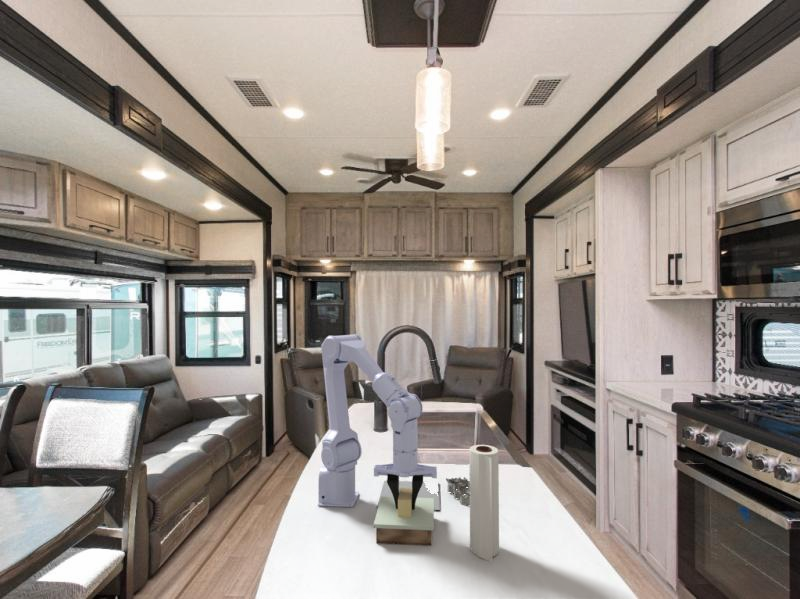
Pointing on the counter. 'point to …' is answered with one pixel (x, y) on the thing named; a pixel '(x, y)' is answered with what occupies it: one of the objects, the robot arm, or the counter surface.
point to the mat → (408, 484)
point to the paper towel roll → (484, 501)
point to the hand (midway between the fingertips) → (405, 507)
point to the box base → (403, 536)
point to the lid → (405, 512)
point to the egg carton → (459, 489)
